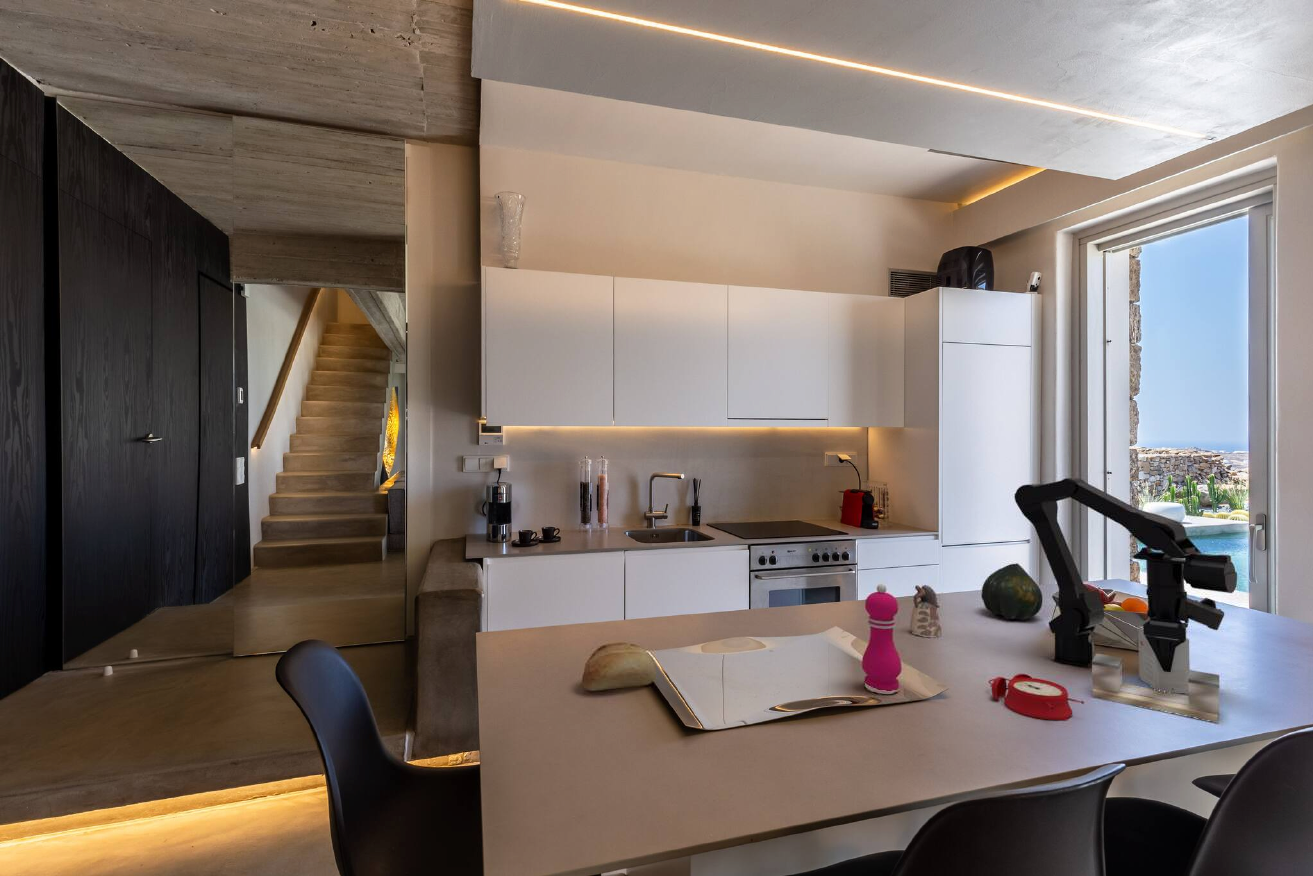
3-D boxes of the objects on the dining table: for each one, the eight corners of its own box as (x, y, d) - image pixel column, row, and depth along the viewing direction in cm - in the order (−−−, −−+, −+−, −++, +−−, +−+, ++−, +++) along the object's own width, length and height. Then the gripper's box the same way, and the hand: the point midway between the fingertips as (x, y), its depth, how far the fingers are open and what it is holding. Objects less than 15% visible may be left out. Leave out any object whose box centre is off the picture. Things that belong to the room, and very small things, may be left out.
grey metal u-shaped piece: (1091, 696, 121) (1091, 662, 121) (1097, 684, 127) (1097, 652, 127) (1219, 724, 110) (1219, 686, 110) (1219, 709, 116) (1219, 673, 116)
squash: (980, 601, 172) (1020, 559, 171) (963, 591, 187) (1000, 552, 186) (1024, 639, 170) (1065, 597, 169) (1004, 626, 185) (1041, 587, 183)
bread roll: (573, 684, 127) (573, 643, 127) (643, 672, 134) (643, 633, 134) (591, 702, 118) (591, 658, 118) (664, 688, 125) (664, 646, 125)
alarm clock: (1048, 706, 108) (977, 658, 122) (1040, 739, 109) (971, 688, 123) (1092, 698, 112) (1019, 652, 125) (1085, 730, 113) (1013, 681, 127)
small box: (1190, 695, 122) (1190, 639, 122) (1155, 692, 124) (1155, 636, 124) (1171, 680, 130) (1170, 627, 130) (1138, 677, 132) (1138, 625, 132)
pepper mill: (907, 688, 125) (907, 584, 125) (892, 699, 120) (892, 590, 120) (871, 679, 130) (871, 578, 130) (855, 689, 125) (855, 584, 125)
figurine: (946, 638, 158) (946, 588, 158) (916, 637, 158) (916, 588, 158) (934, 629, 165) (934, 582, 165) (905, 629, 165) (905, 582, 165)
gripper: (1220, 598, 115) (1224, 687, 114) (1219, 581, 129) (1223, 661, 128) (1141, 590, 122) (1144, 674, 121) (1149, 575, 136) (1152, 651, 136)
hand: (1168, 665), depth 126 cm, fingers open, 9 cm apart
